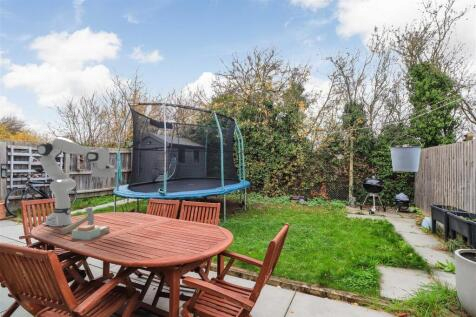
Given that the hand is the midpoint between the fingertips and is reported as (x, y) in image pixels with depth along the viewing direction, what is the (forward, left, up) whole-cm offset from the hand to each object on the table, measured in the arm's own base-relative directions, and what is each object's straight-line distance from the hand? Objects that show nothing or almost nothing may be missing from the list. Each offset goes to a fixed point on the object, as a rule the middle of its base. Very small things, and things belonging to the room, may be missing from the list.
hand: (103, 182), depth 246 cm
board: (+9, -20, -37) cm, 43 cm away
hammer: (-11, -15, -38) cm, 42 cm away
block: (+9, -27, -33) cm, 44 cm away
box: (+9, -32, -37) cm, 50 cm away
